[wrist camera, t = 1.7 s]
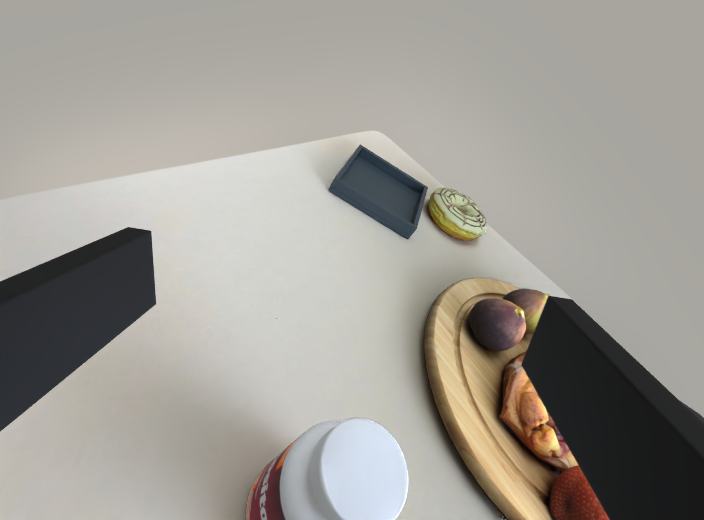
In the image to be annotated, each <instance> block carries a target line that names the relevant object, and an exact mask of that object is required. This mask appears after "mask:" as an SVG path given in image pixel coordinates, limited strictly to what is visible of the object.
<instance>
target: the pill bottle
mask: <svg viewBox="0 0 704 520" xmlns="http://www.w3.org/2000/svg"><path fill="white" fill-rule="evenodd" d="M407 491H408V471H407V466H406V462H405V458H404V456H403V453H402V451H401V449H400V447H399V445H398V443H397V442H396V440H395V439H394V438H393V436H392V435H391V434H390V433H389V432H388V431H387V430H386V429H385V428H384V427H382V426H381V425H379V424H378V423H376V422H374V421H372V420H369V419H365V418H351V419H347V420H345V421H328V422H323V423H320V424H317V425H315V426H313V427H311V428H310V429H308V430H307V431H306V432H304V433H303V434H302V435H301V436H300V437H298V438H297V439H296V440H295V441H294V442H293V443H292V444H290V445H289V446H288V447H287V448H286V449H285V450H284V451H283V452H281V453H280V454H279V455H278V456H277V457H276V458H275V459H273V460H272V461H271V462H270V463H269V464H268V465H267V466H266V467H265V468H264V469H263V470H262V471H261V472H260V474H259V475H258V477H257V478H256V480H255V482H254V484H253V486H252V488H251V490H250V493H249V497H248V501H247V509H246V519H247V520H394V519H395V518H396V517H397V516H398V515H399V513H400V512H401V510H402V508H403V506H404V503H405V500H406V497H407Z"/></svg>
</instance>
